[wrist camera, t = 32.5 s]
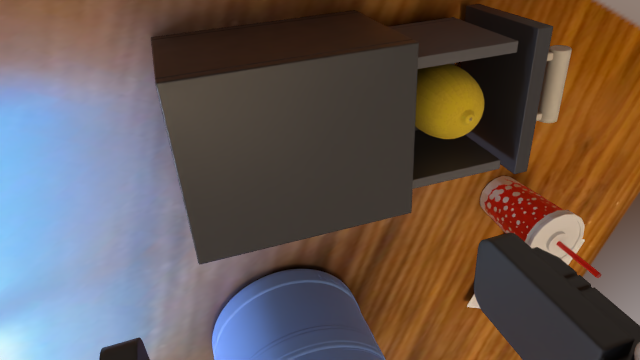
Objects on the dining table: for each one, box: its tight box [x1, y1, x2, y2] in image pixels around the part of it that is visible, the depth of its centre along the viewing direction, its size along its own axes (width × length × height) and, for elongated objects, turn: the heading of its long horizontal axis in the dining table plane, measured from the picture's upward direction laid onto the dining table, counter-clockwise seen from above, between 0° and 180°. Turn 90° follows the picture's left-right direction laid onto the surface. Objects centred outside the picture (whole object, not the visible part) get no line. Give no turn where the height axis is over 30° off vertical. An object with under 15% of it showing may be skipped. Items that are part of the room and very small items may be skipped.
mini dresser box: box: [389, 4, 572, 189], centre depth 39 cm, size 19×11×9 cm, turn 92°
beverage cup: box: [480, 176, 601, 278], centre depth 47 cm, size 6×6×14 cm
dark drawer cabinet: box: [151, 10, 419, 264], centre depth 35 cm, size 16×13×11 cm
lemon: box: [415, 64, 484, 139], centre depth 38 cm, size 6×6×8 cm
